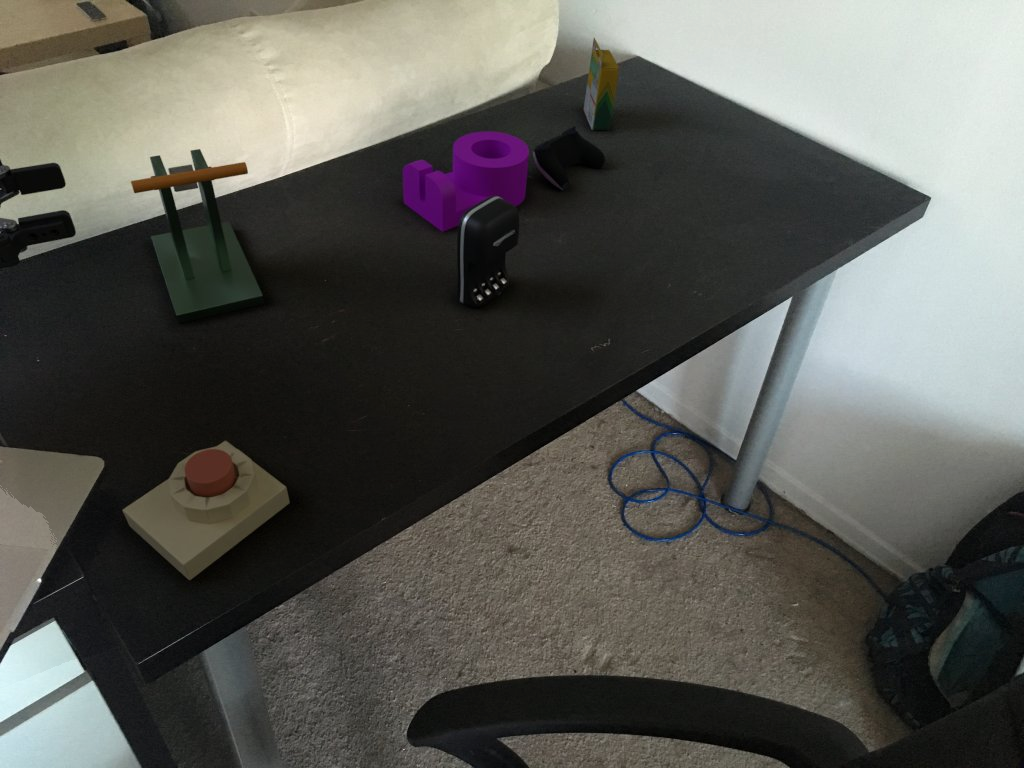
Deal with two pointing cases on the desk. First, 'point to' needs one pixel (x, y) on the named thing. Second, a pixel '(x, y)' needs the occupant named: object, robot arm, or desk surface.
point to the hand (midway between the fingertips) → (67, 197)
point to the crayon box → (600, 88)
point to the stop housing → (205, 513)
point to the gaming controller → (565, 156)
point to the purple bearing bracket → (468, 178)
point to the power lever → (188, 177)
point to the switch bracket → (202, 258)
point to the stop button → (210, 472)
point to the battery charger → (485, 250)
